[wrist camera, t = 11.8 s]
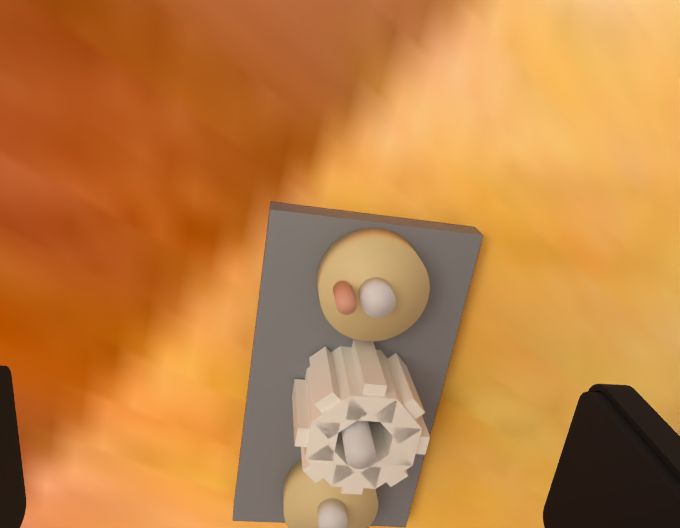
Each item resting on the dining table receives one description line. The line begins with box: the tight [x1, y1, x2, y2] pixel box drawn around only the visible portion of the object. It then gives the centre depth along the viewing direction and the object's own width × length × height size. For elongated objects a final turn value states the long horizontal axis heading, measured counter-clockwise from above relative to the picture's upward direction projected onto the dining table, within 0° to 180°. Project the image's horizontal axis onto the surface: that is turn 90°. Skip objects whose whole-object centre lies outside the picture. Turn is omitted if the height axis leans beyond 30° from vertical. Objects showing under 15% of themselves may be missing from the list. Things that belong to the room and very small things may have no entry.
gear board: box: [233, 202, 483, 528], centre depth 33 cm, size 12×22×8 cm, turn 171°
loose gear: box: [292, 339, 430, 495], centre depth 33 cm, size 7×7×5 cm
